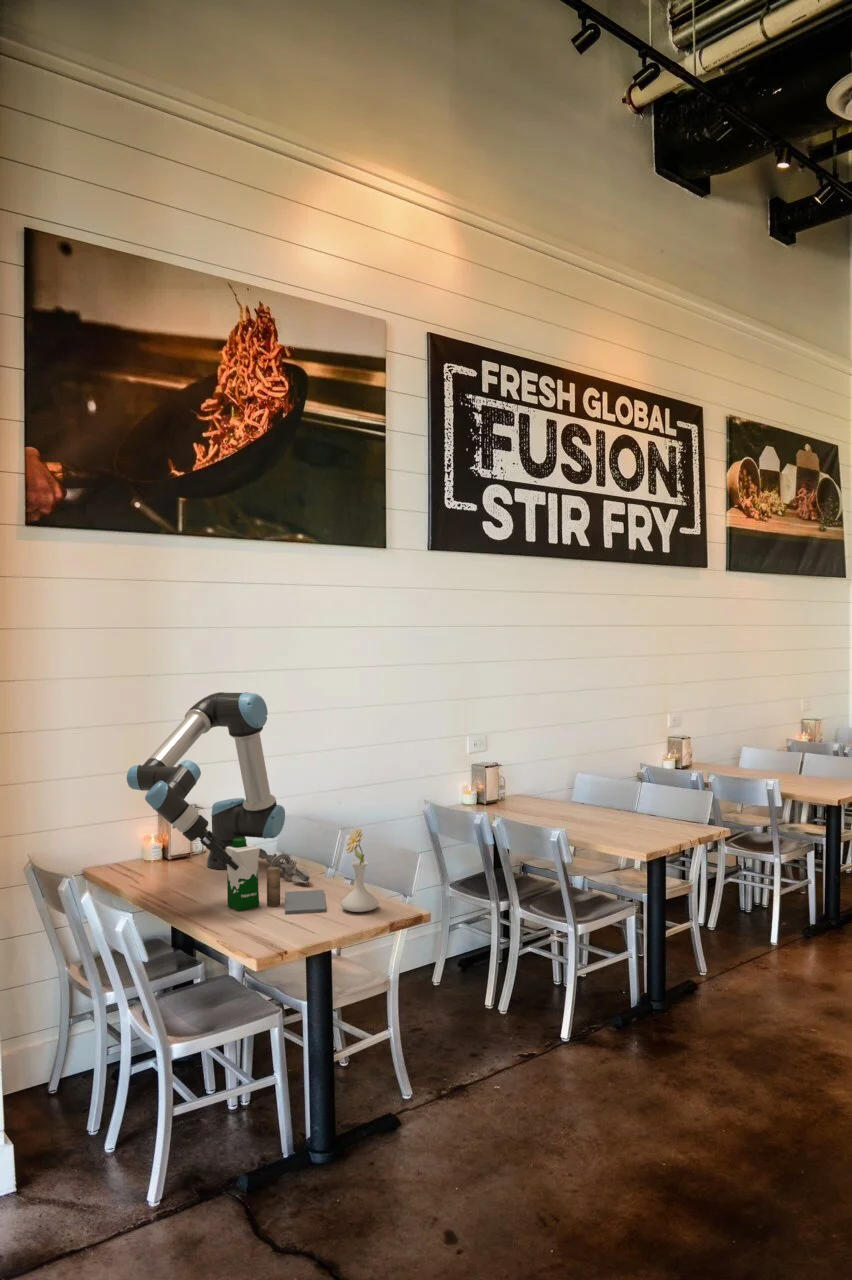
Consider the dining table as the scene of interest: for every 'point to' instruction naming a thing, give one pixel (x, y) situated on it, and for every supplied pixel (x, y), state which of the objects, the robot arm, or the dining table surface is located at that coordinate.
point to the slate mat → (305, 902)
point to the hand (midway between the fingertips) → (242, 869)
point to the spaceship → (285, 867)
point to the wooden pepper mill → (273, 886)
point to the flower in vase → (358, 880)
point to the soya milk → (246, 889)
